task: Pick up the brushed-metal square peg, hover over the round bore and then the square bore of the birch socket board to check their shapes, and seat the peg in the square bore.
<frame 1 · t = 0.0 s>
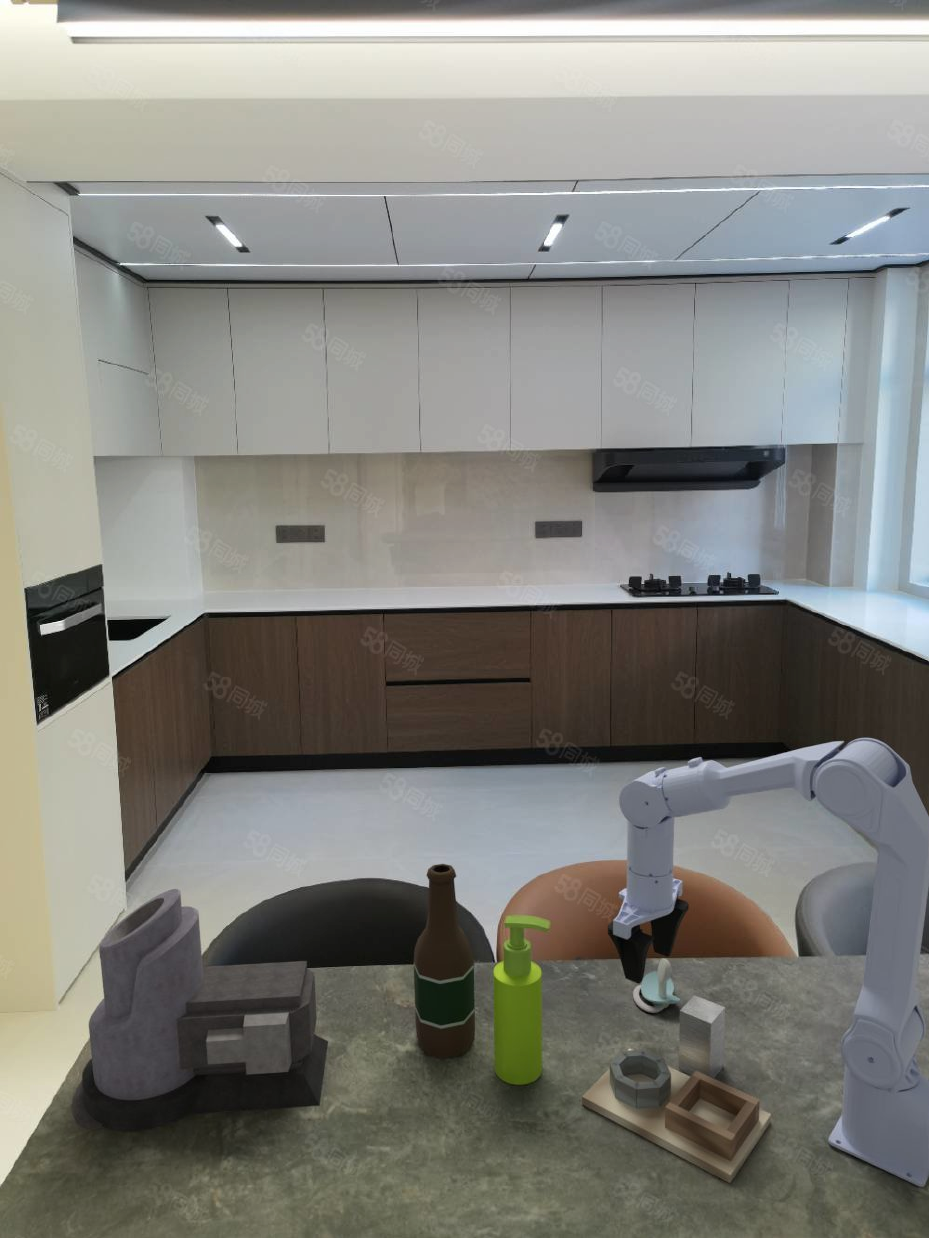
hand: (648, 966, 110), 10 cm above the table, tool pointing down, fingers open, 7 cm apart
beer bottle: (445, 1042, 111), on the table
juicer: (202, 1081, 105), on the table
square peg: (701, 1068, 105), on the table
soap dispenser: (522, 1070, 106), on the table
pacifier: (654, 1002, 119), on the table
socket board: (674, 1112, 98), on the table
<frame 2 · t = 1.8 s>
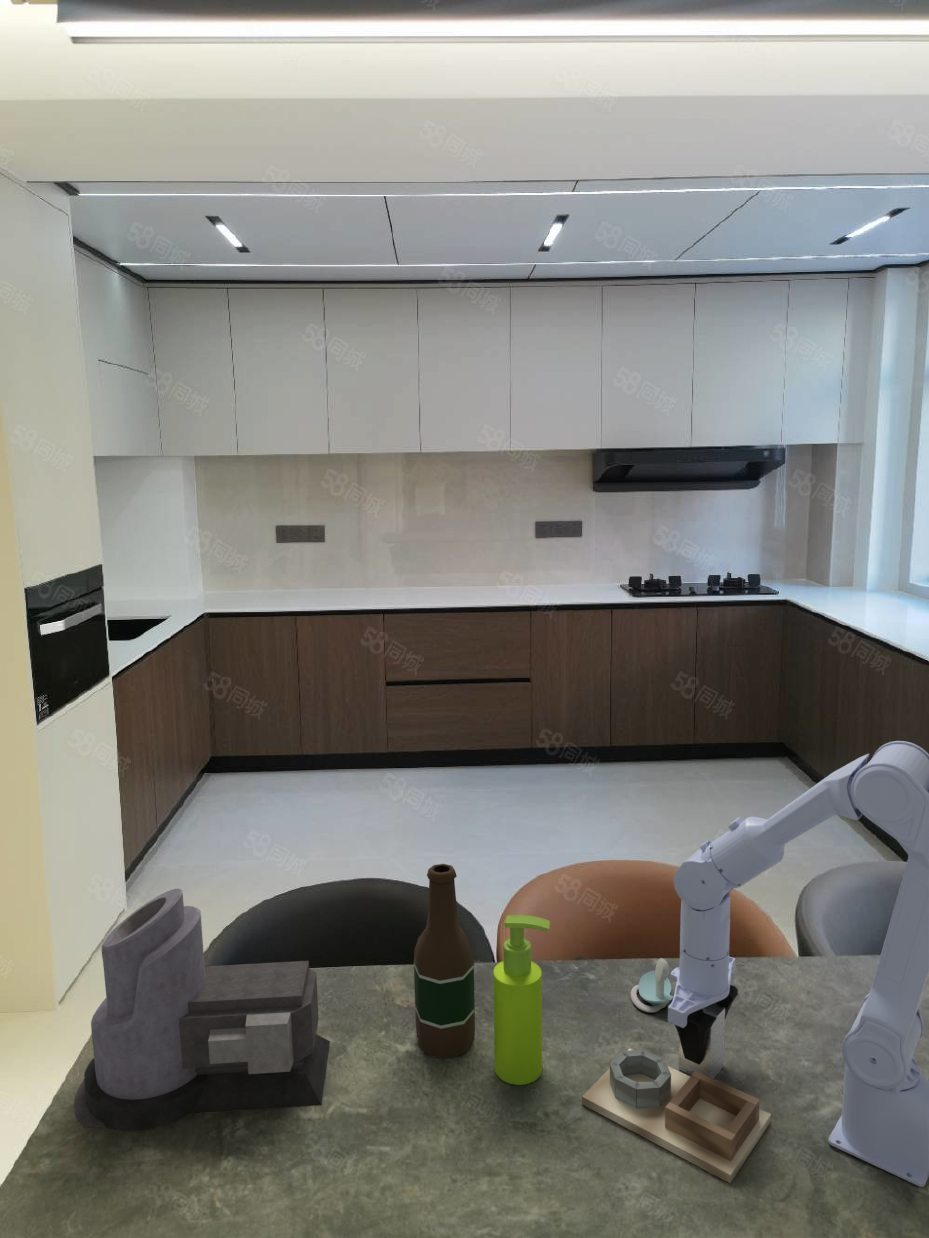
hand: (701, 1050, 105), 2 cm above the table, tool pointing down, fingers closed on square peg, 4 cm apart
square peg: (701, 1067, 105), on the table, touching gripper
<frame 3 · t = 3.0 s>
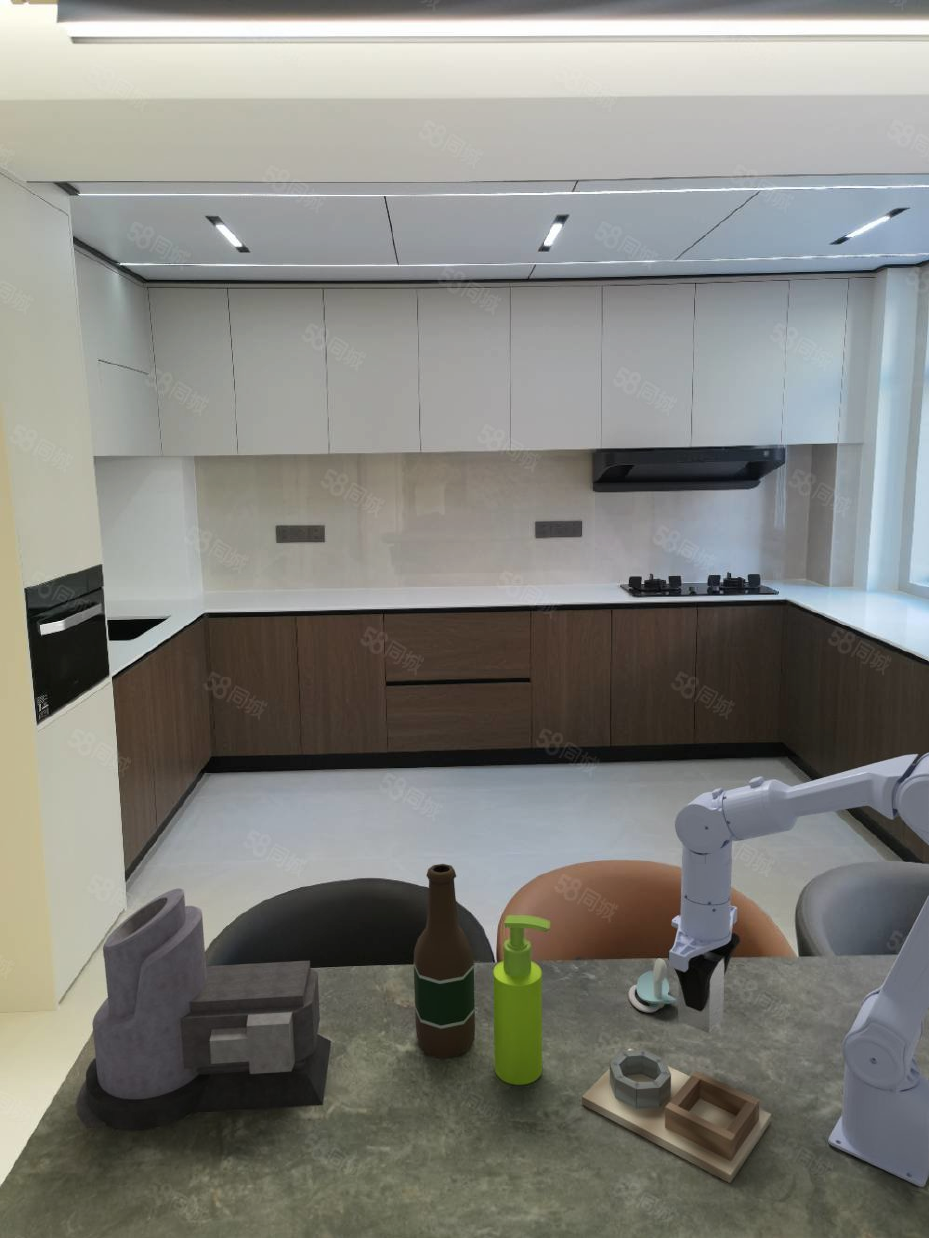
hand: (702, 998, 104), 9 cm above the table, tool pointing down, fingers closed on square peg, 4 cm apart
square peg: (700, 1018, 104), point 7 cm above the table, touching gripper
everything else where it was.
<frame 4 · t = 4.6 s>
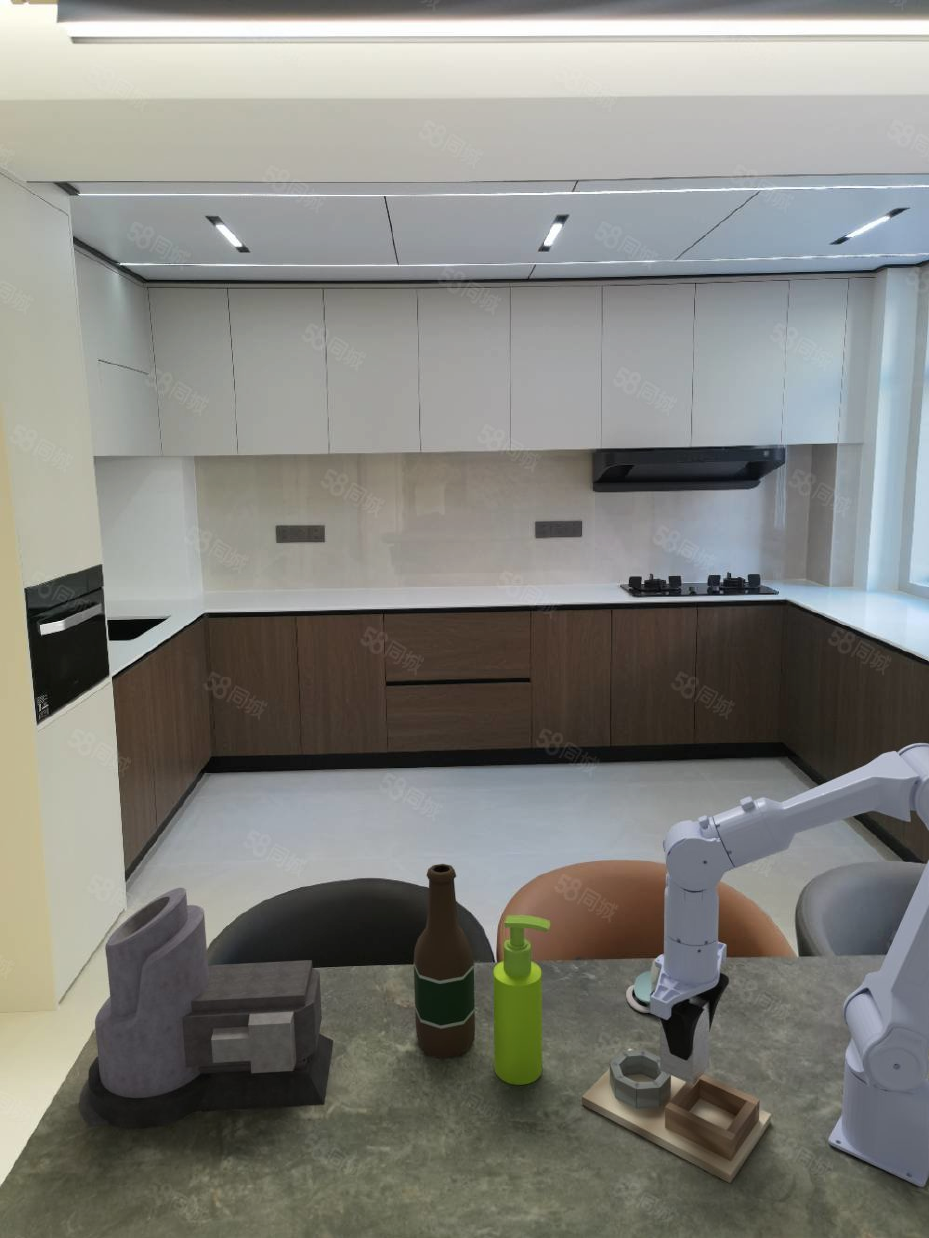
hand: (689, 1044, 96), 9 cm above the table, tool pointing down, fingers closed on square peg, 4 cm apart
square peg: (685, 1068, 96), point 6 cm above the table, touching gripper
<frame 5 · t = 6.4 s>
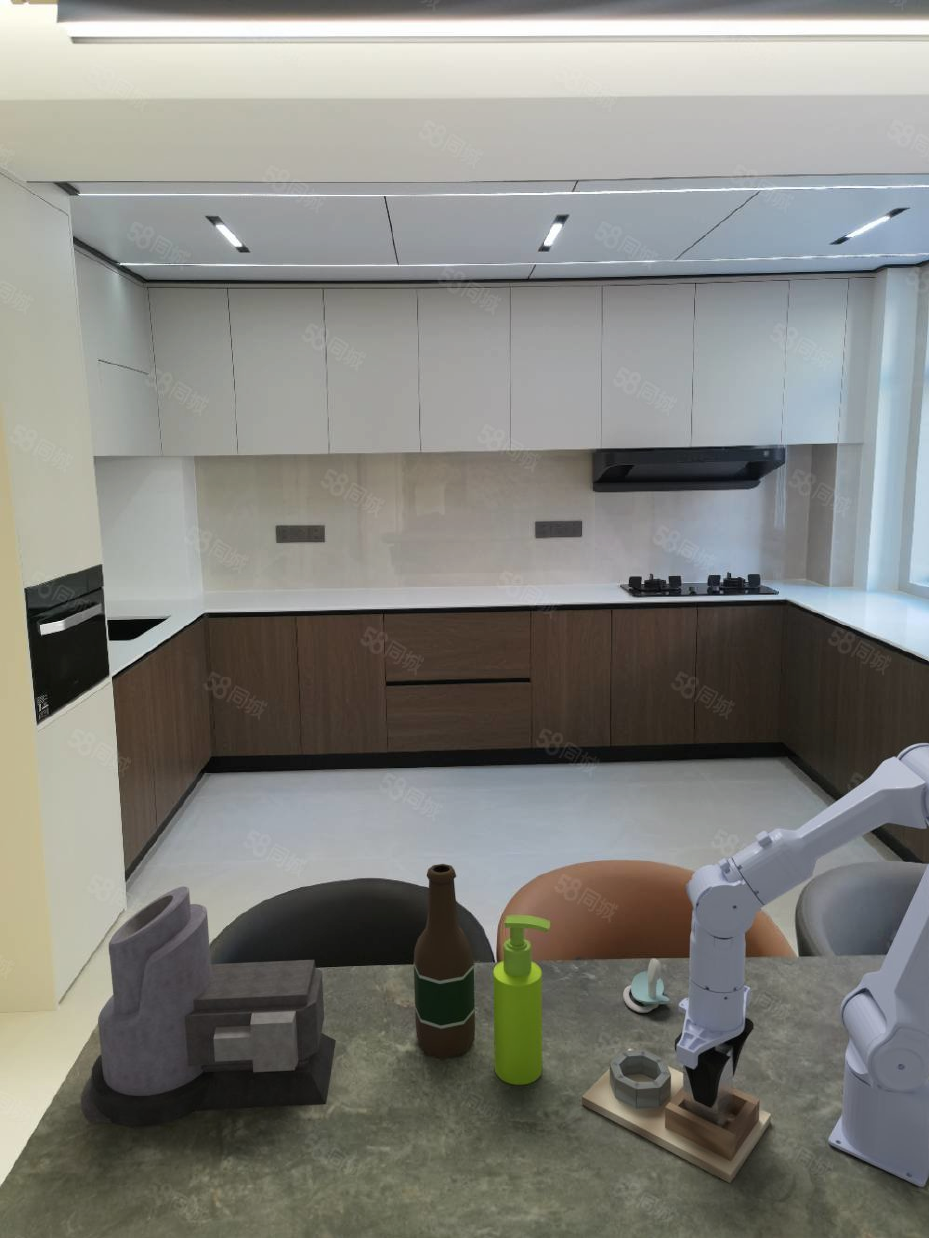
hand: (712, 1090, 94), 5 cm above the table, tool pointing down, fingers closed on square peg, 4 cm apart
square peg: (707, 1114, 95), point 2 cm above the table, touching gripper
when the fingers open (4 cm above the table, at t = 7.5 s): square peg stays where it is, resting on socket board.
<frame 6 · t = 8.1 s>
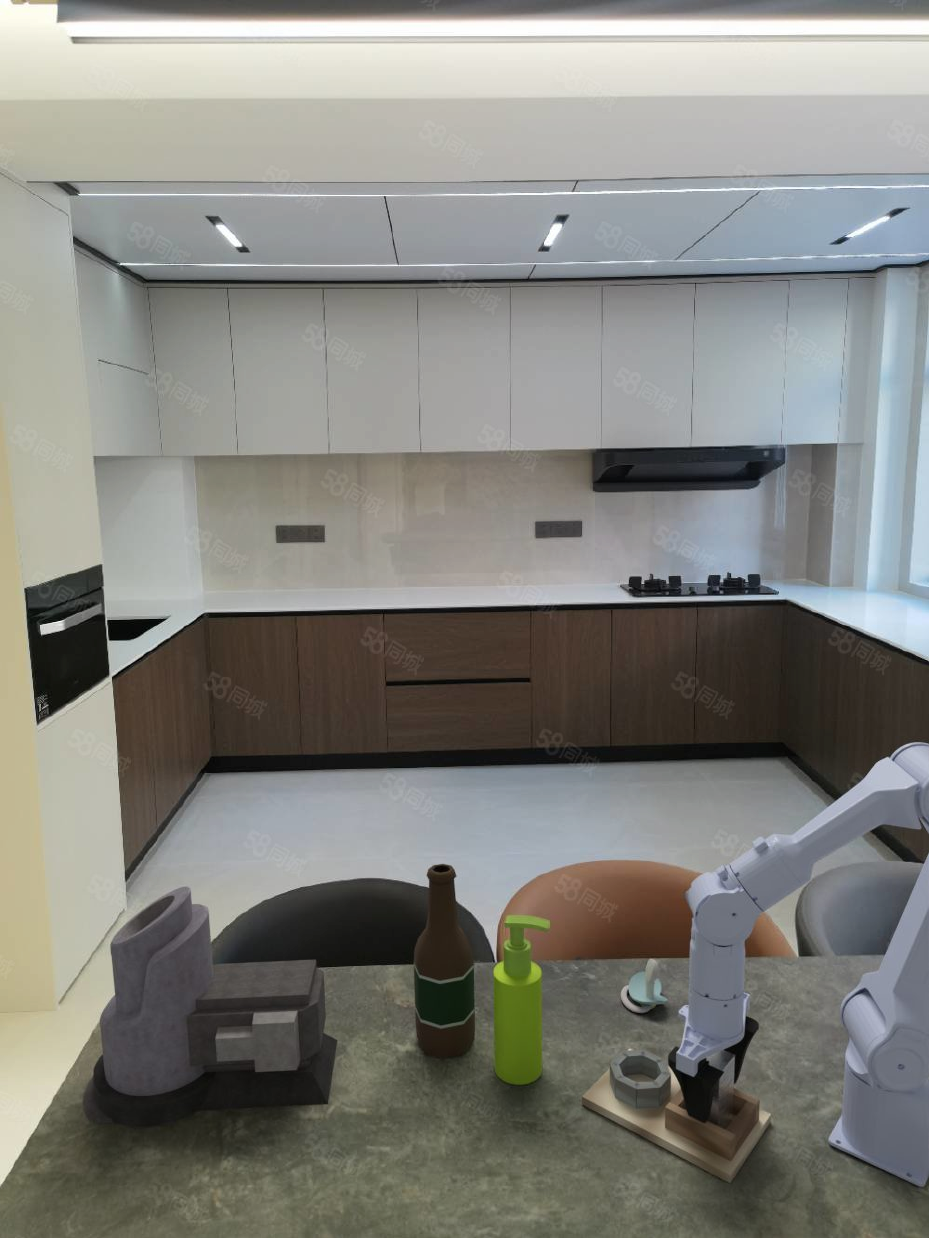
hand: (712, 1097, 94), 4 cm above the table, tool pointing down, fingers open, 7 cm apart
square peg: (707, 1121, 95), point 1 cm above the table, touching socket board
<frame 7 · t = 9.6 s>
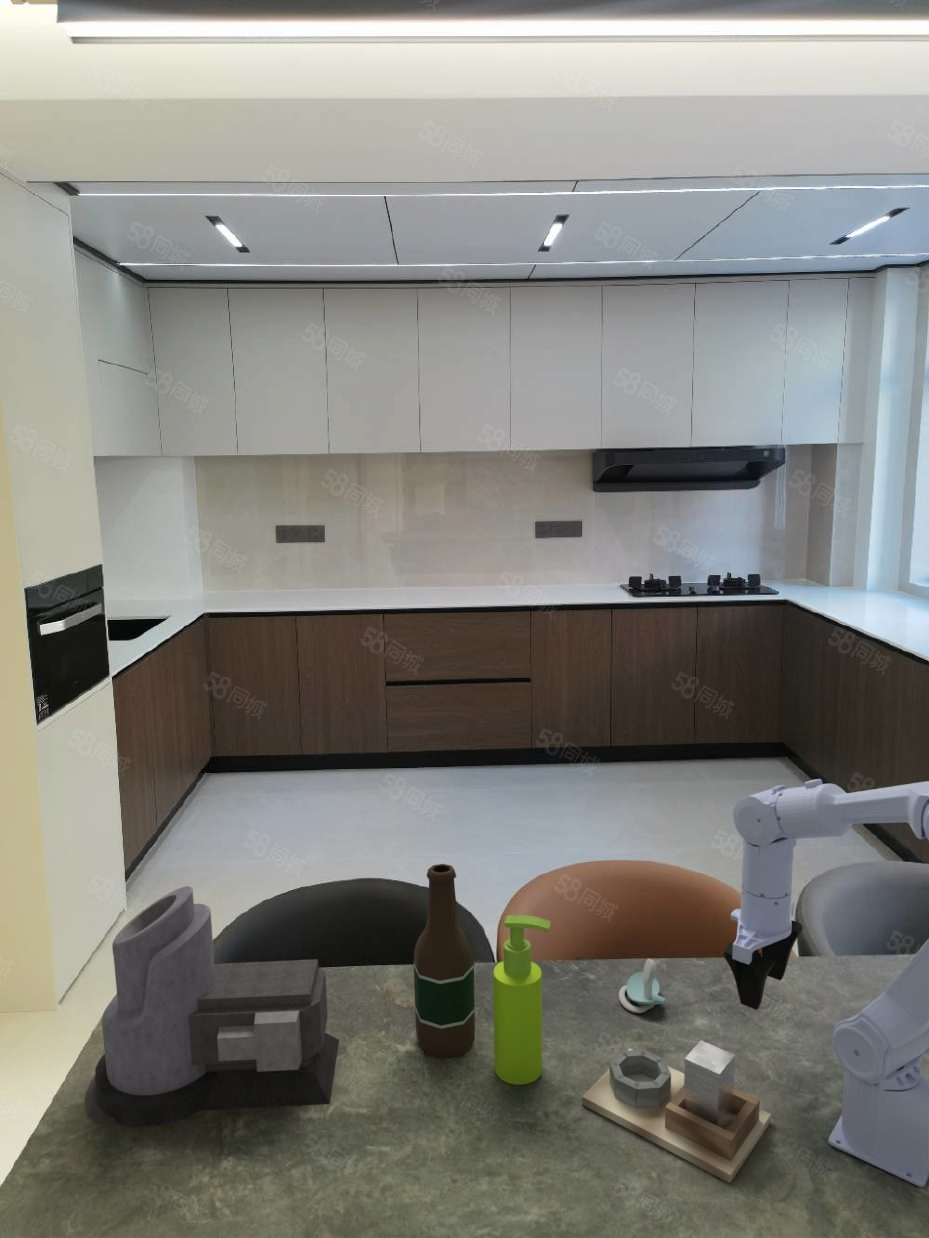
hand: (762, 990, 105), 9 cm above the table, tool pointing down, fingers open, 7 cm apart
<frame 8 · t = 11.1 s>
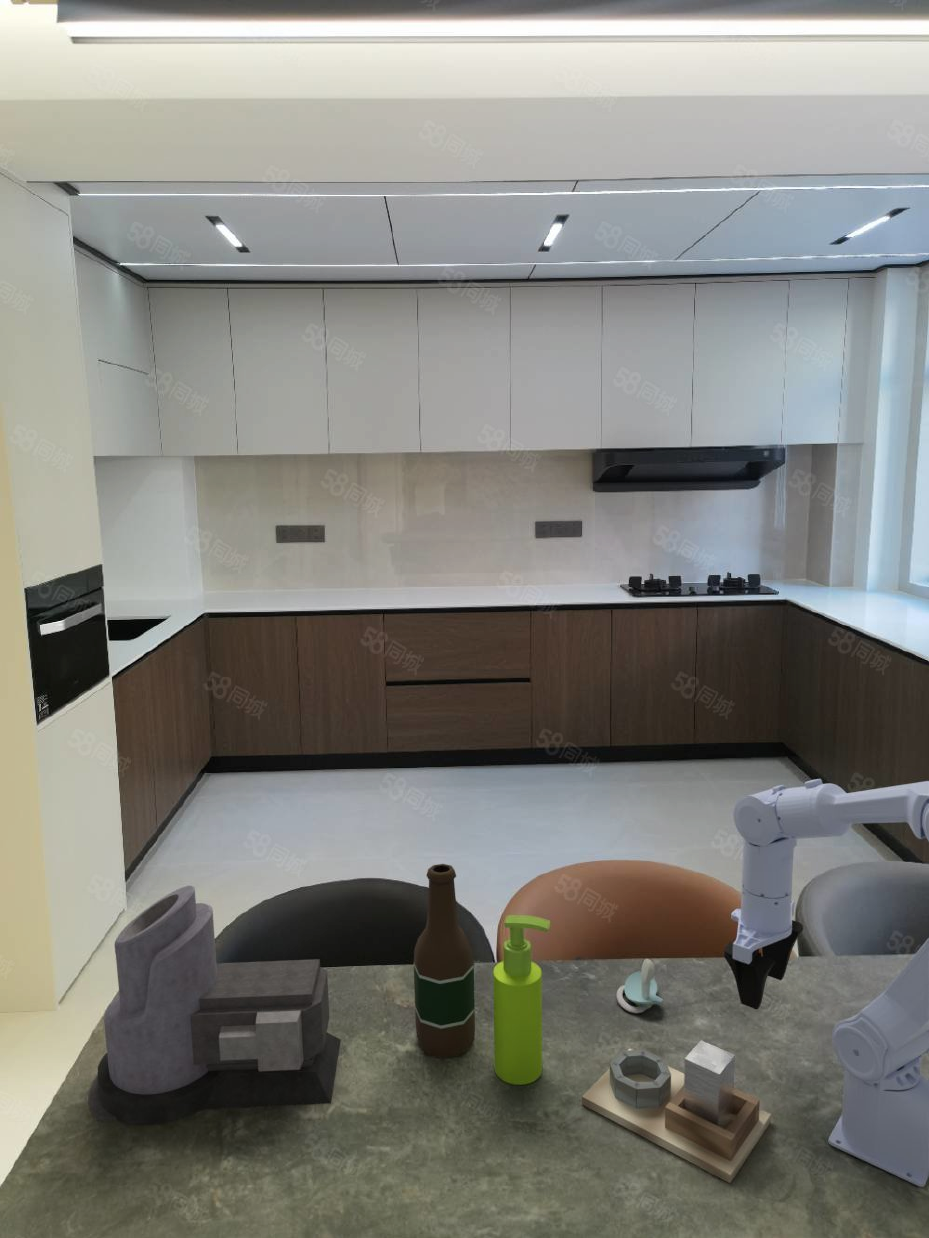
hand: (762, 990, 105), 9 cm above the table, tool pointing down, fingers open, 7 cm apart
at the end: square peg 0.5 cm from the target spot on the socket board, point 1.0 cm above the socket board's base; square peg tilted 0°; the gripper is holding nothing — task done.
